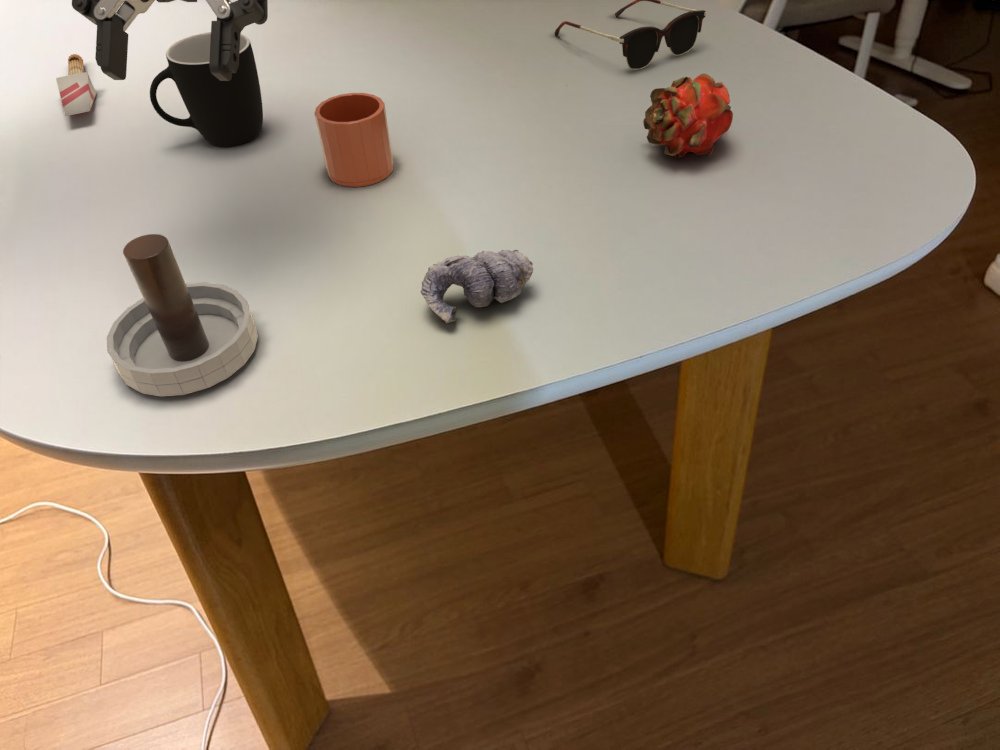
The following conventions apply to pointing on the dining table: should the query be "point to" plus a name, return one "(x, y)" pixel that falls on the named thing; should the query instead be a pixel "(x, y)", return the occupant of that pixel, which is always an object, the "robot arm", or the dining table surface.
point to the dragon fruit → (688, 115)
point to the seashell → (476, 279)
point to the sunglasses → (654, 36)
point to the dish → (160, 375)
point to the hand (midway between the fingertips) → (166, 76)
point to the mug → (213, 92)
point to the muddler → (166, 296)
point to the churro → (76, 88)
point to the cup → (355, 139)
